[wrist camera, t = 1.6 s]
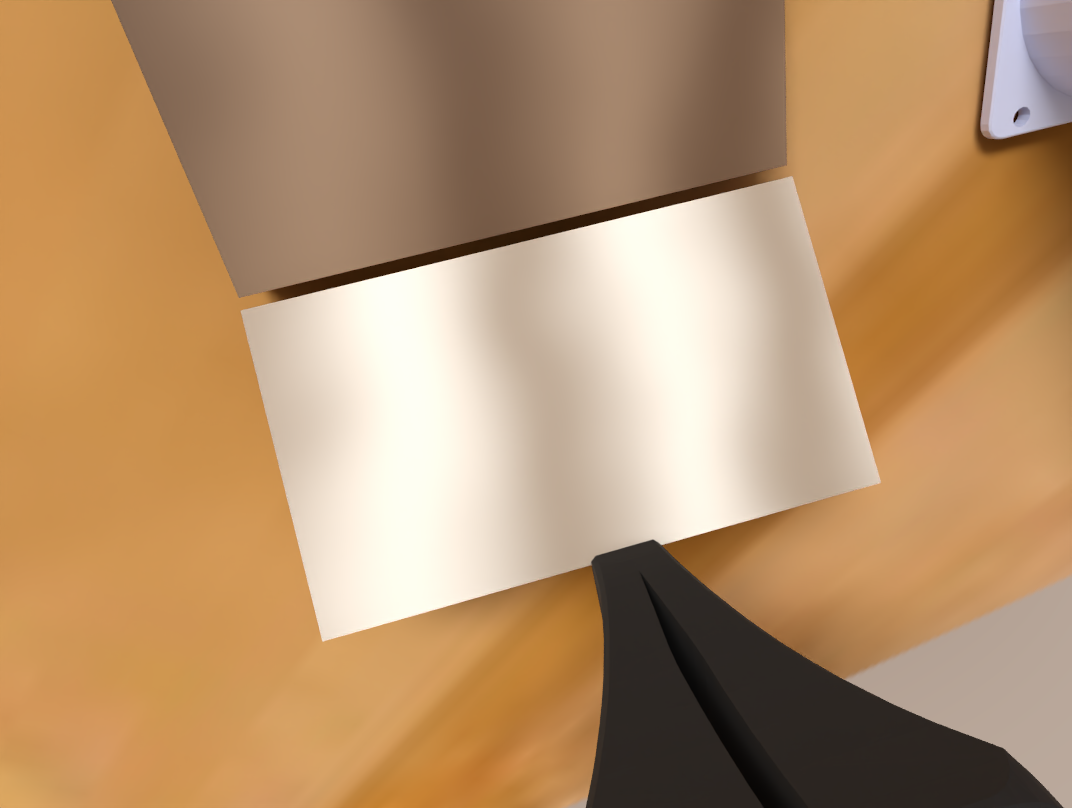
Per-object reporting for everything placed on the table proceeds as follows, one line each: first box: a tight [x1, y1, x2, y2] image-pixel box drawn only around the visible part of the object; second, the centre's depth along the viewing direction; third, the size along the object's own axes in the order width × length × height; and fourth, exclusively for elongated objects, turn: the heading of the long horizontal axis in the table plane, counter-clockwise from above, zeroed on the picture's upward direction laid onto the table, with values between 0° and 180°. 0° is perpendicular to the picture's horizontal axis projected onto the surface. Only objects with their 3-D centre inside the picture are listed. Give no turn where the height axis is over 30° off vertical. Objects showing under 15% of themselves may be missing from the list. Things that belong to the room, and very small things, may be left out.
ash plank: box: [241, 176, 881, 641], centre depth 17 cm, size 14×8×2 cm, turn 101°
